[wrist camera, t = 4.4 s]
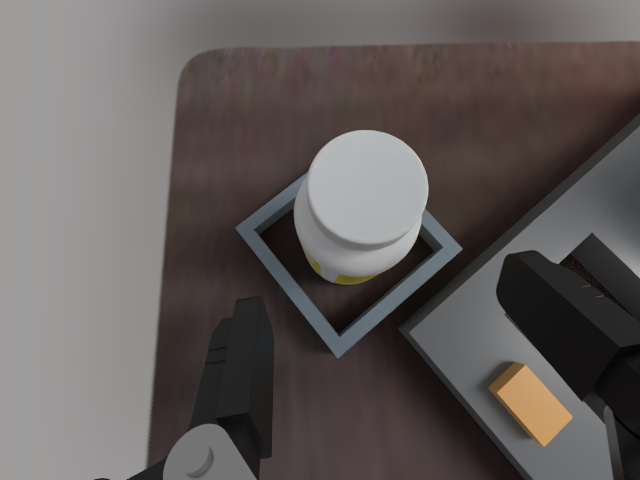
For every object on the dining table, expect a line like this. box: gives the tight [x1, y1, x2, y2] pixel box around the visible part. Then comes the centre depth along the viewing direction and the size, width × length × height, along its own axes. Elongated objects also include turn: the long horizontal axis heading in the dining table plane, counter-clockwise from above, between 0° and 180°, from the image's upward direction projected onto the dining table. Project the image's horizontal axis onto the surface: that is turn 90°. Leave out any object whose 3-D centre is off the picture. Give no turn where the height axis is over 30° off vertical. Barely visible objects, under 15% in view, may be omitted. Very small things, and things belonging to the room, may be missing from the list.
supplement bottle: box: [294, 130, 428, 285], centre depth 14 cm, size 5×5×10 cm
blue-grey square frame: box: [235, 171, 463, 358], centre depth 18 cm, size 10×10×2 cm
